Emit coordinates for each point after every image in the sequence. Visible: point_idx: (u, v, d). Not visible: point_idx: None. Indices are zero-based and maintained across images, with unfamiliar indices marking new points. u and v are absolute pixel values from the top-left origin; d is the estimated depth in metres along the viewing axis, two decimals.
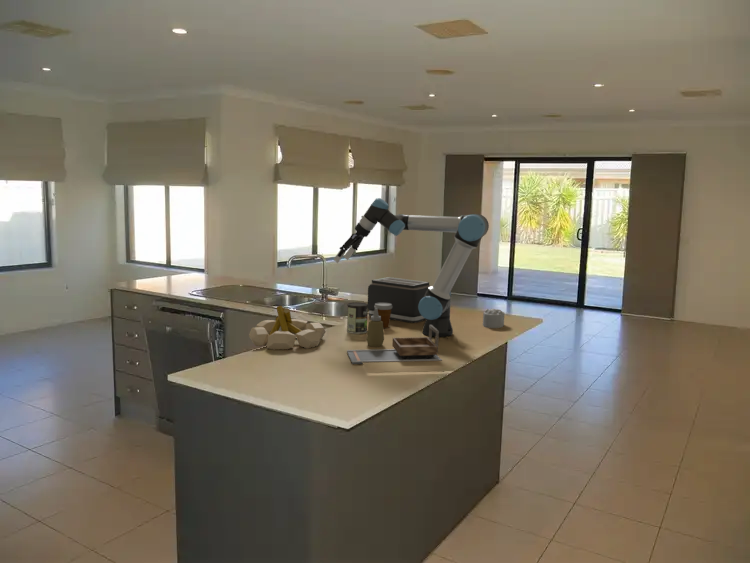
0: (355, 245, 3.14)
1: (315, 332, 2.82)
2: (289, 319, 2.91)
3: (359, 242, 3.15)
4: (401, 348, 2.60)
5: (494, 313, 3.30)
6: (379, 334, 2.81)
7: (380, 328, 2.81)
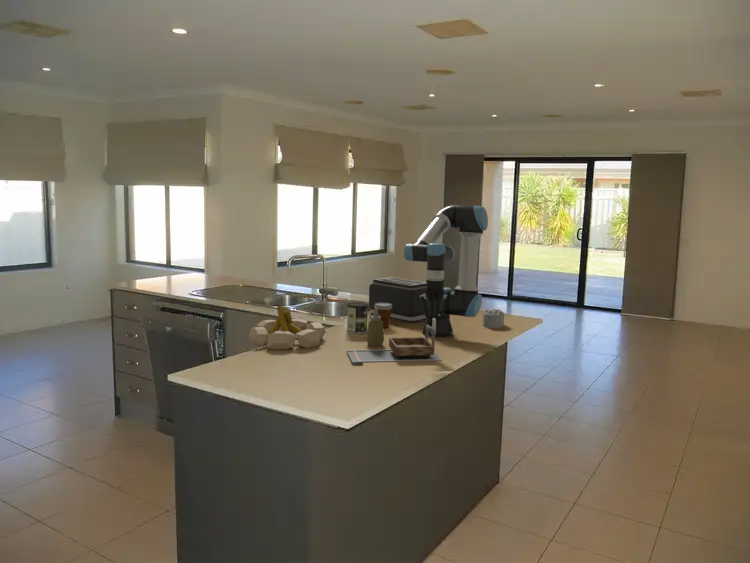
0: None
1: (315, 332, 2.82)
2: (289, 319, 2.91)
3: None
4: (397, 348, 2.60)
5: (494, 313, 3.30)
6: (379, 334, 2.81)
7: (380, 328, 2.81)
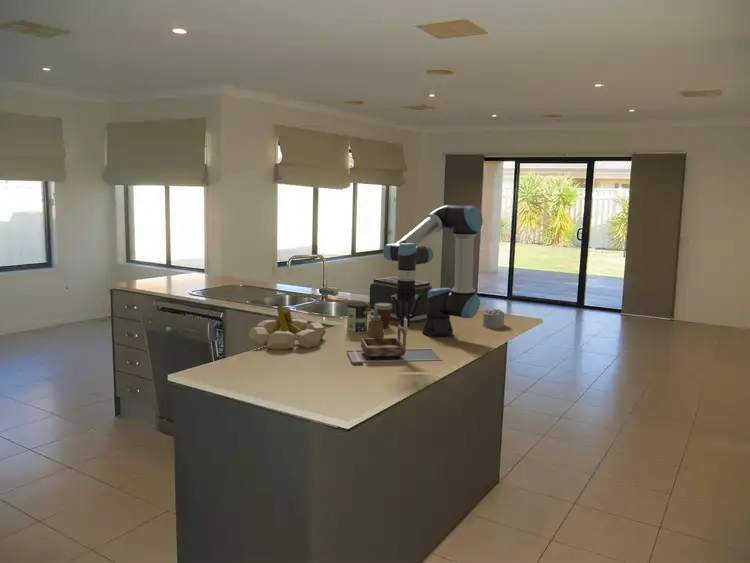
0: None
1: (315, 332, 2.82)
2: (289, 319, 2.91)
3: None
4: (368, 349, 2.58)
5: (494, 313, 3.30)
6: (379, 334, 2.81)
7: (380, 328, 2.81)
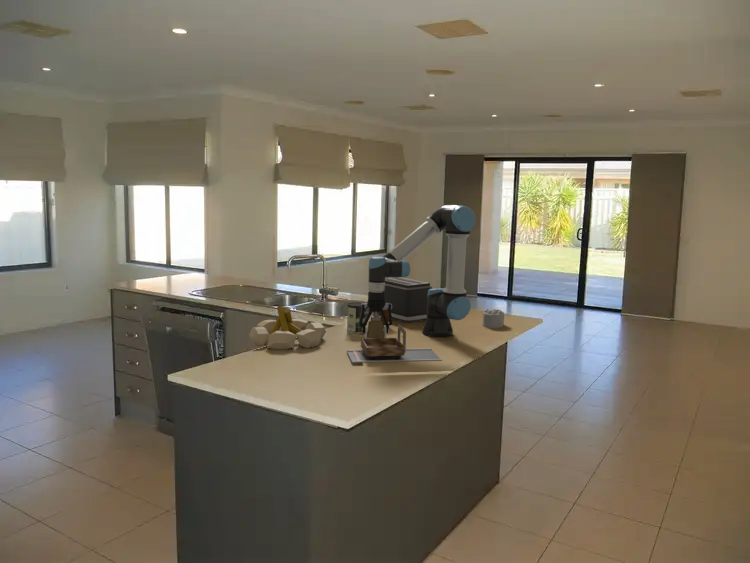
0: None
1: (315, 332, 2.83)
2: (289, 319, 2.92)
3: None
4: (368, 349, 2.58)
5: (494, 313, 3.30)
6: (379, 334, 2.81)
7: (380, 328, 2.81)
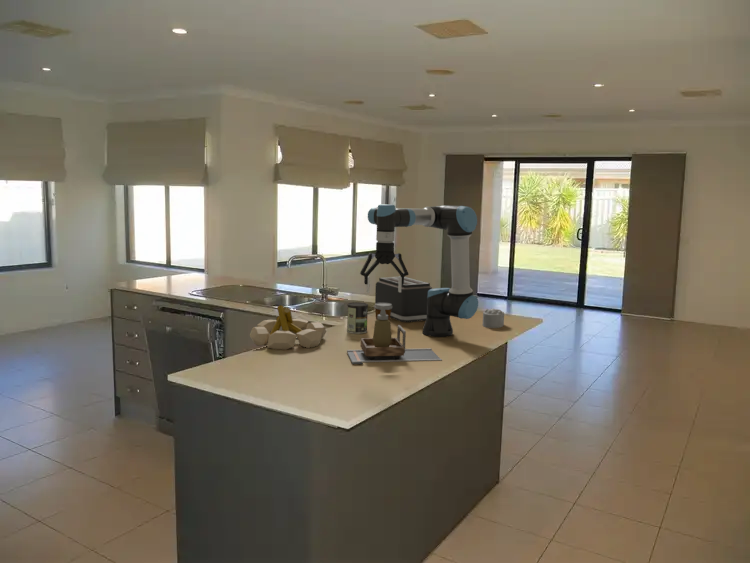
0: None
1: (316, 332, 2.83)
2: (290, 319, 2.92)
3: None
4: (367, 349, 2.57)
5: (494, 313, 3.30)
6: (387, 334, 2.63)
7: (387, 328, 2.63)
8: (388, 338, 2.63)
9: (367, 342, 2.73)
